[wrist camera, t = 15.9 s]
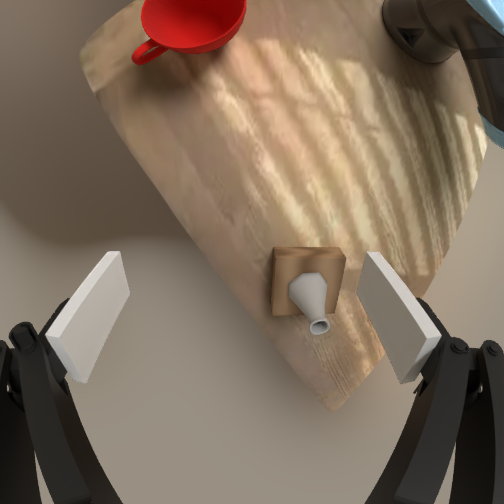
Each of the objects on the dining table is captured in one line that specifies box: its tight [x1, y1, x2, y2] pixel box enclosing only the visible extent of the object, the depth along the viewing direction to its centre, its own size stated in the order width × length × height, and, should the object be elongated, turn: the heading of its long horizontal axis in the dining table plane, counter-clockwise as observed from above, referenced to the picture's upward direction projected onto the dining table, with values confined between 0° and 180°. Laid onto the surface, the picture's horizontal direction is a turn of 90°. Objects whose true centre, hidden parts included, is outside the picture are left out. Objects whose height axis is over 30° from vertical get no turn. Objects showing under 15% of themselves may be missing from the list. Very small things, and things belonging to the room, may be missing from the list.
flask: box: [288, 272, 330, 335], centre depth 43 cm, size 7×7×10 cm
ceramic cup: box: [132, 0, 246, 65], centre depth 26 cm, size 13×17×10 cm
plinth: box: [270, 247, 346, 316], centre depth 49 cm, size 12×12×4 cm
